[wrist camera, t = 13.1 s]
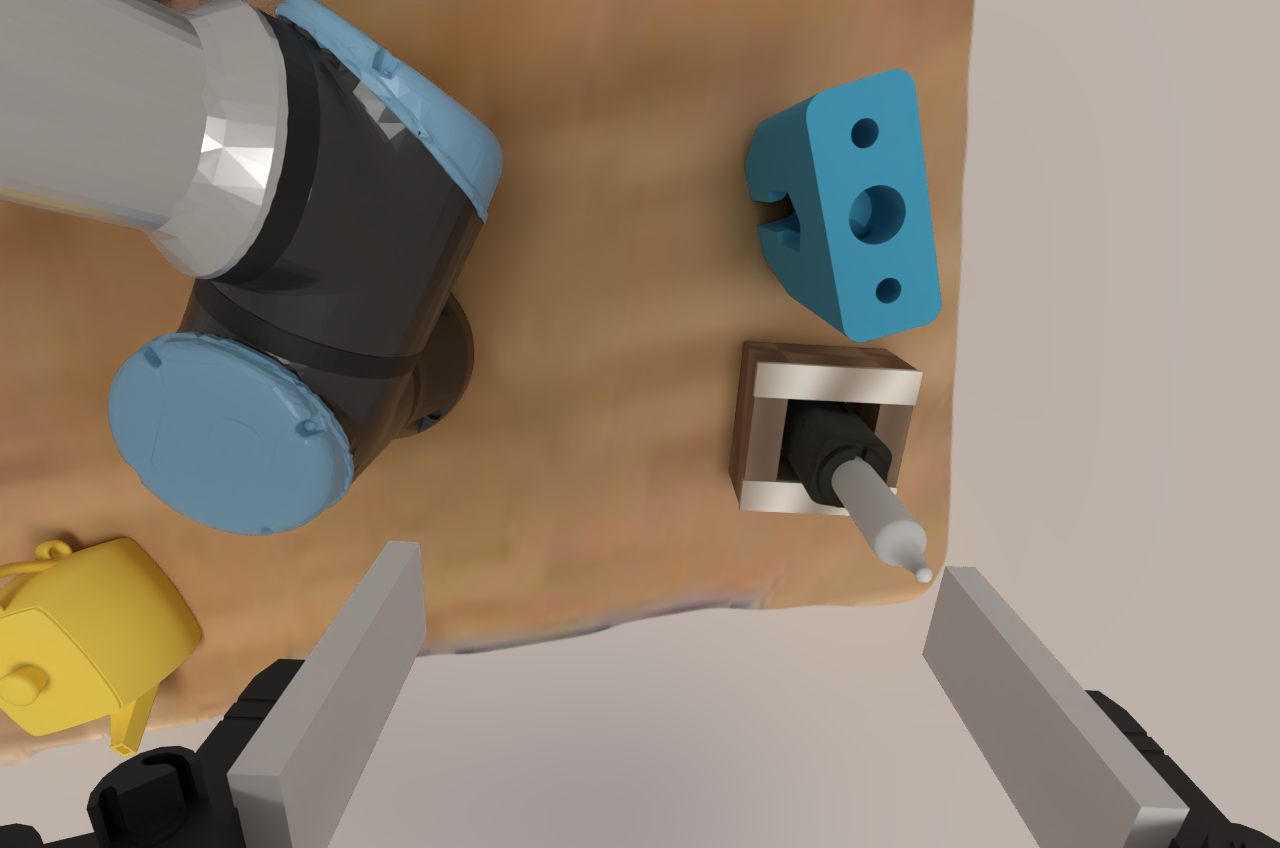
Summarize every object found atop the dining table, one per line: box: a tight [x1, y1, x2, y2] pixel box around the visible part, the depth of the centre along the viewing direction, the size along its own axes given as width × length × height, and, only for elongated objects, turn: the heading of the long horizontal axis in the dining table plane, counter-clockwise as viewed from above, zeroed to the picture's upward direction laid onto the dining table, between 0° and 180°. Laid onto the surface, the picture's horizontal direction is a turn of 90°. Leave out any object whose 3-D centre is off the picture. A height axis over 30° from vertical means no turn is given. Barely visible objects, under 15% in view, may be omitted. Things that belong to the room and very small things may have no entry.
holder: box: [729, 341, 923, 515], centre depth 52 cm, size 12×12×7 cm
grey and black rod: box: [781, 399, 932, 583], centre depth 44 cm, size 5×5×25 cm
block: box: [745, 69, 942, 342], centre depth 40 cm, size 12×5×20 cm, turn 16°
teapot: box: [0, 537, 202, 757], centre depth 57 cm, size 20×12×12 cm, turn 20°
